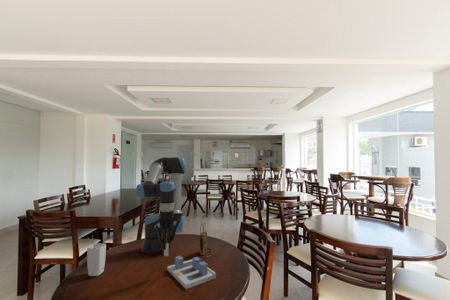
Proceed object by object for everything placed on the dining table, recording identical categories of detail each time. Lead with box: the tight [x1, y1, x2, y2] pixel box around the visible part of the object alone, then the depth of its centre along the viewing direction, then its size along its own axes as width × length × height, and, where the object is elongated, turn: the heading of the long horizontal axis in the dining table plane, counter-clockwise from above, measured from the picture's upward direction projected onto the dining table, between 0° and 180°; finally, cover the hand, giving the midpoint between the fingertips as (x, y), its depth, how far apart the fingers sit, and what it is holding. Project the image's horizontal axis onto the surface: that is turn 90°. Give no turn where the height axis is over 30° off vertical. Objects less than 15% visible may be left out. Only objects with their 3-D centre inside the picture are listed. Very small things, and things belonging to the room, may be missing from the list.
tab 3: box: [199, 260, 209, 276], centre depth 117 cm, size 4×3×5 cm
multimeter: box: [199, 223, 215, 259], centre depth 147 cm, size 15×10×20 cm
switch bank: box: [166, 259, 217, 290], centre depth 120 cm, size 23×17×3 cm
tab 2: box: [192, 256, 202, 270], centre depth 122 cm, size 4×3×5 cm
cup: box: [86, 243, 107, 277], centre depth 120 cm, size 7×7×15 cm
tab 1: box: [174, 255, 184, 269], centre depth 124 cm, size 4×3×5 cm
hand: (166, 255), depth 119 cm, fingers closed
